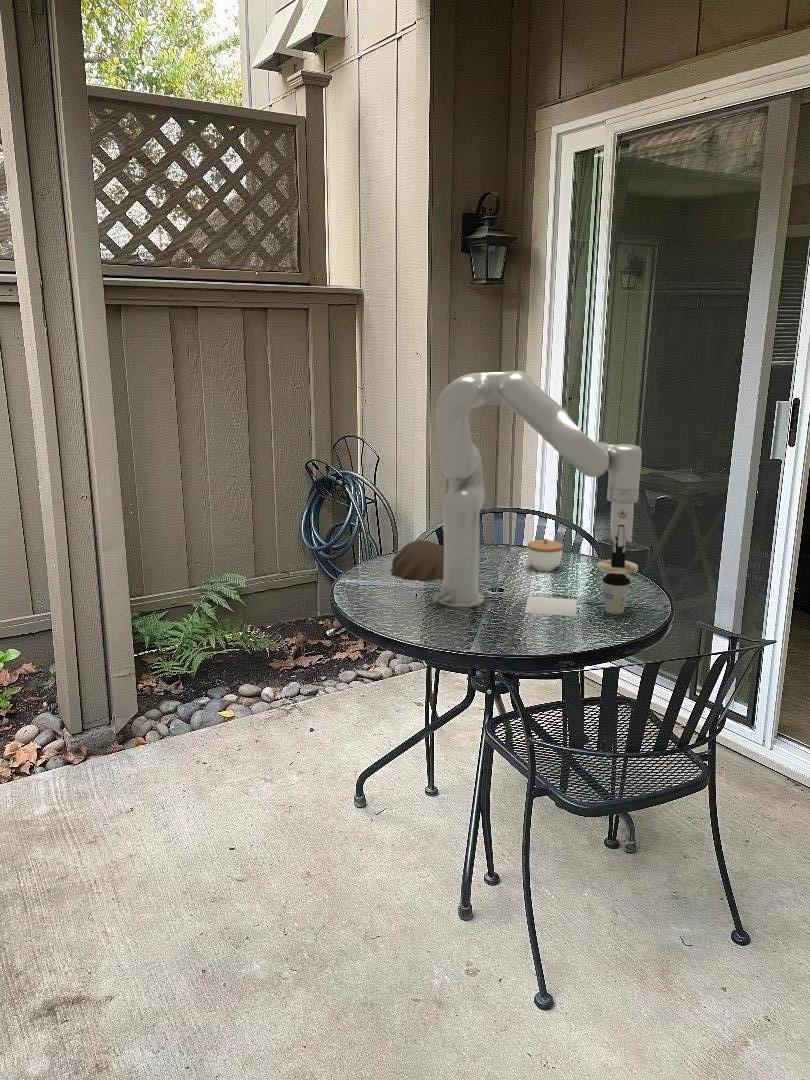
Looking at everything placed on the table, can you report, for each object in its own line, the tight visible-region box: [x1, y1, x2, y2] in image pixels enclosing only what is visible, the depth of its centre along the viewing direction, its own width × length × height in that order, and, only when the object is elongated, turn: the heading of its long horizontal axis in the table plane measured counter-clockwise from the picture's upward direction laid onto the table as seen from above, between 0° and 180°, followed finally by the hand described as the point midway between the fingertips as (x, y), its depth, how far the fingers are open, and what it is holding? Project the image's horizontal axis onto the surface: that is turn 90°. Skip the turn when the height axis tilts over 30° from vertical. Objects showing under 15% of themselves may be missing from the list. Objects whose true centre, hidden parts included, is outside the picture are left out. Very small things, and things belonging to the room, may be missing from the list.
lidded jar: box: [527, 538, 564, 572], centre depth 239 cm, size 11×11×9 cm
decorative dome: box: [391, 539, 444, 582], centre depth 236 cm, size 19×20×10 cm
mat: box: [524, 596, 578, 617], centre depth 205 cm, size 13×13×1 cm
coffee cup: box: [602, 573, 631, 615], centre depth 201 cm, size 7×7×10 cm
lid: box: [596, 544, 639, 575], centre depth 198 cm, size 10×10×6 cm
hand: (617, 564), depth 199 cm, fingers closed on lid, 3 cm apart
